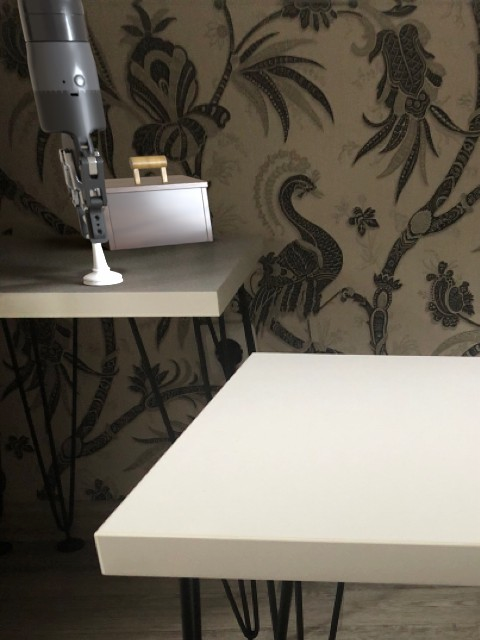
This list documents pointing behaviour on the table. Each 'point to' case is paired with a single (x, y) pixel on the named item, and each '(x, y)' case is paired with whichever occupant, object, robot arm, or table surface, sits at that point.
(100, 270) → the chess piece
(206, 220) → the chess box
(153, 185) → the chess box lid
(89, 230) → the robot arm
